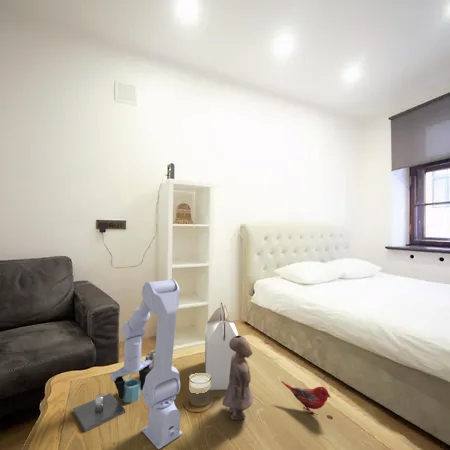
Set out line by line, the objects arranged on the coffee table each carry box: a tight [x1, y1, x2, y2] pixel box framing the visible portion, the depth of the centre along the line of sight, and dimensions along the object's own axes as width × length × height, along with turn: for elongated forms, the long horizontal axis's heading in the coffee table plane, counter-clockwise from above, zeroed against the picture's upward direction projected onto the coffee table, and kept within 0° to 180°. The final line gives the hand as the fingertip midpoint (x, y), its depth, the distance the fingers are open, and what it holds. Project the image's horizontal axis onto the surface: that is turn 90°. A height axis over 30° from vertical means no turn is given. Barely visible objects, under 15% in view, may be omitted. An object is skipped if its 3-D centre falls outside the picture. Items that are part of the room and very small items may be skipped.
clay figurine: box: [222, 334, 255, 421], centre depth 85 cm, size 13×10×25 cm
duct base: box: [72, 392, 126, 433], centre depth 84 cm, size 12×12×5 cm
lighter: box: [144, 349, 155, 370], centre depth 105 cm, size 8×3×10 cm, turn 168°
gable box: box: [204, 302, 239, 391], centre depth 109 cm, size 22×13×28 cm, turn 5°
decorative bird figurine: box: [280, 380, 332, 416], centre depth 87 cm, size 3×18×10 cm, turn 49°
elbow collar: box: [122, 378, 142, 404], centre depth 93 cm, size 8×6×5 cm
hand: (131, 393), depth 92 cm, fingers open, 7 cm apart
